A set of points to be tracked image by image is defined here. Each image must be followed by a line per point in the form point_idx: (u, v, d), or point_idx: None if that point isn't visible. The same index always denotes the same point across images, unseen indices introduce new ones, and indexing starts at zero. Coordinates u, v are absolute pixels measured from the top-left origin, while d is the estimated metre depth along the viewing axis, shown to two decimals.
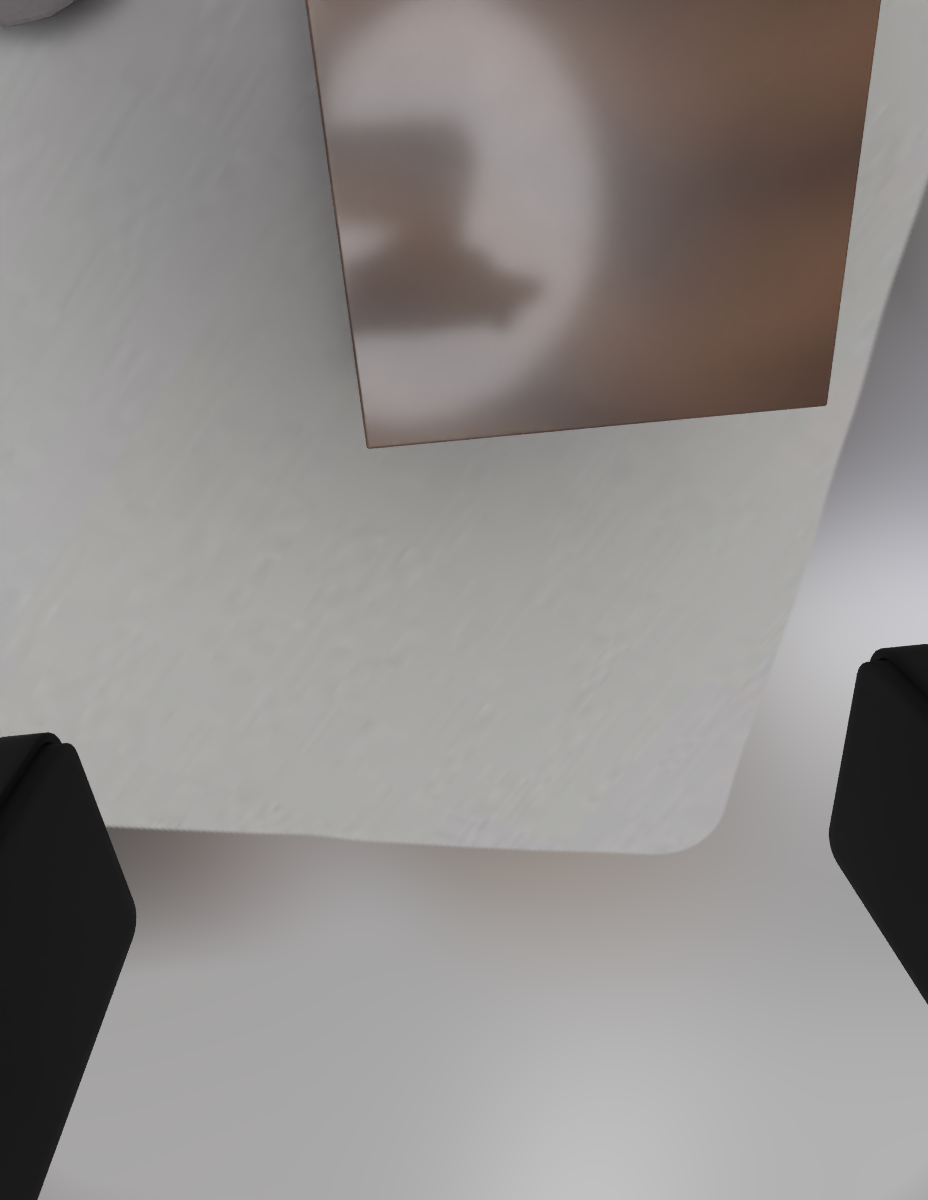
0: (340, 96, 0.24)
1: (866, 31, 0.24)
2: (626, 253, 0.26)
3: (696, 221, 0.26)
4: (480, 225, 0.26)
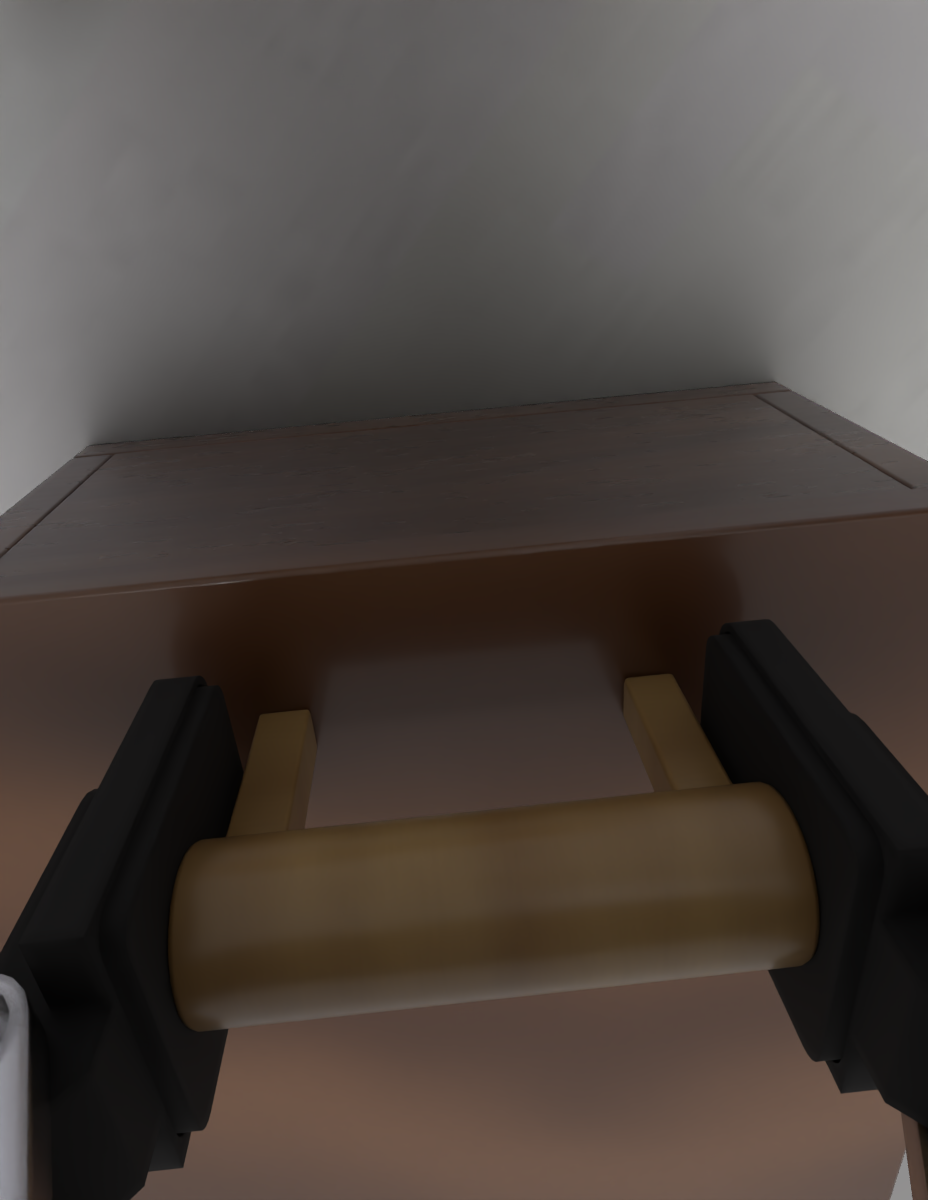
0: None
1: None
2: (552, 1094, 0.15)
3: (672, 1056, 0.15)
4: (291, 1083, 0.15)
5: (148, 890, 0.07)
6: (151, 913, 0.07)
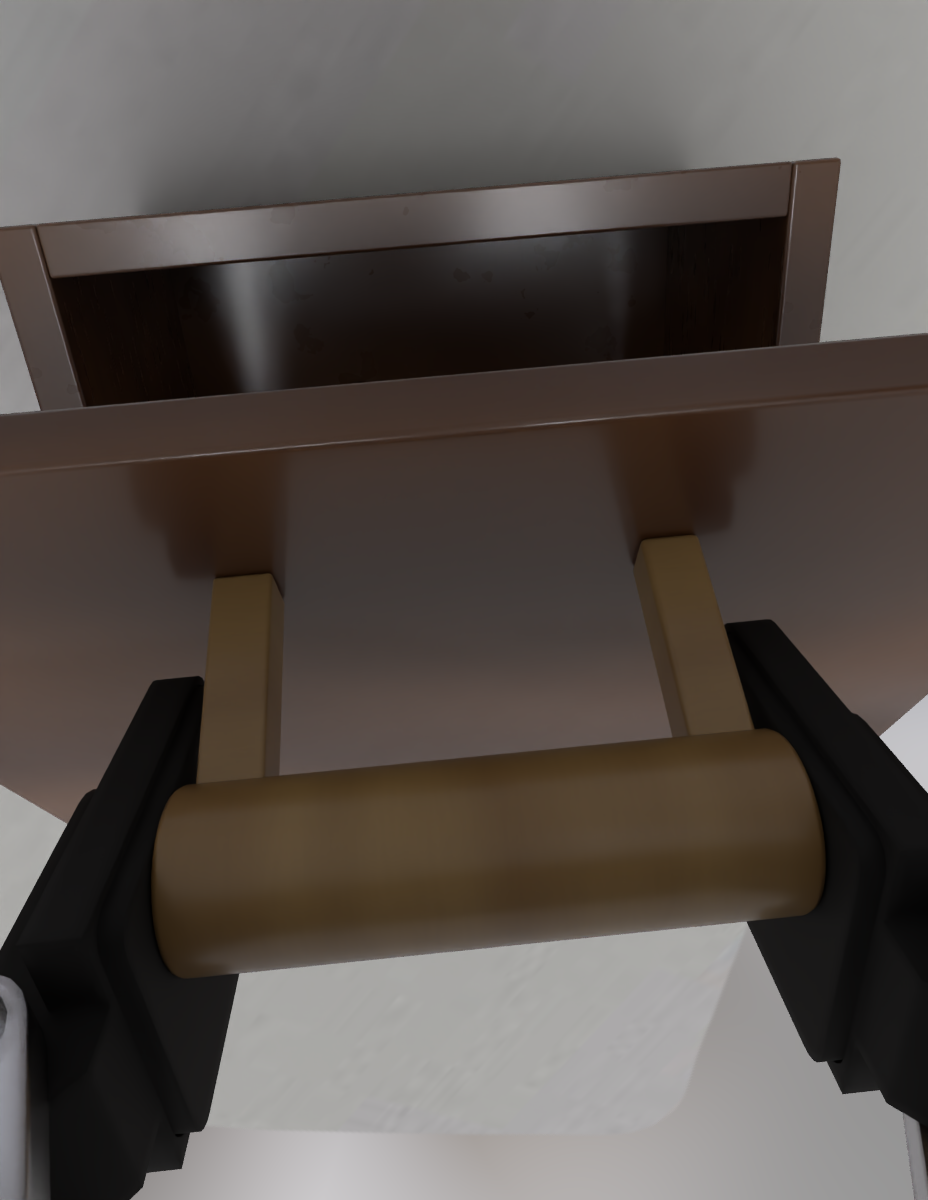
0: None
1: None
2: None
3: None
4: None
5: (146, 891, 0.07)
6: (149, 914, 0.07)
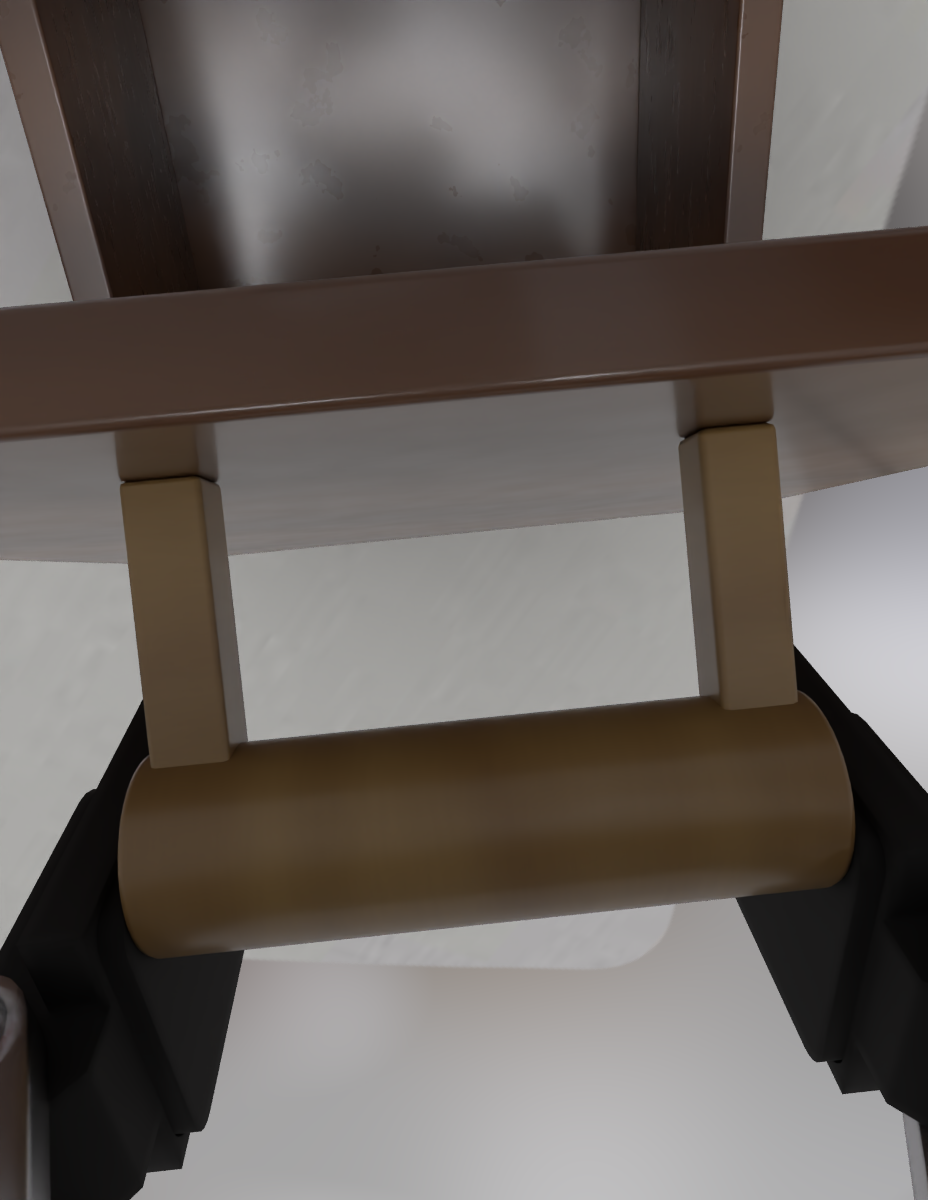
0: None
1: None
2: (492, 517, 0.16)
3: (611, 503, 0.16)
4: (242, 536, 0.15)
5: None
6: None
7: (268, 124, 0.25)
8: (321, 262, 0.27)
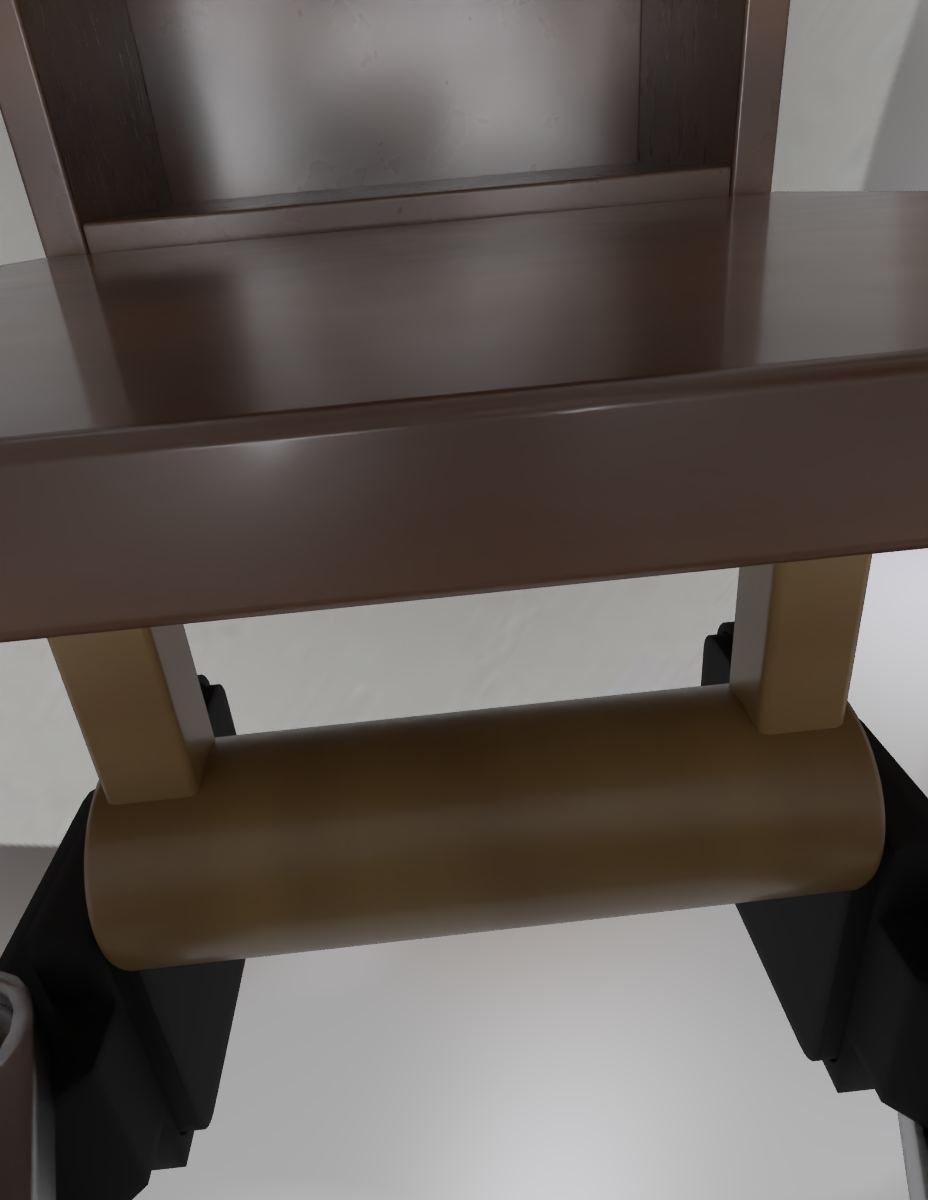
0: None
1: None
2: None
3: None
4: None
5: None
6: None
7: None
8: None
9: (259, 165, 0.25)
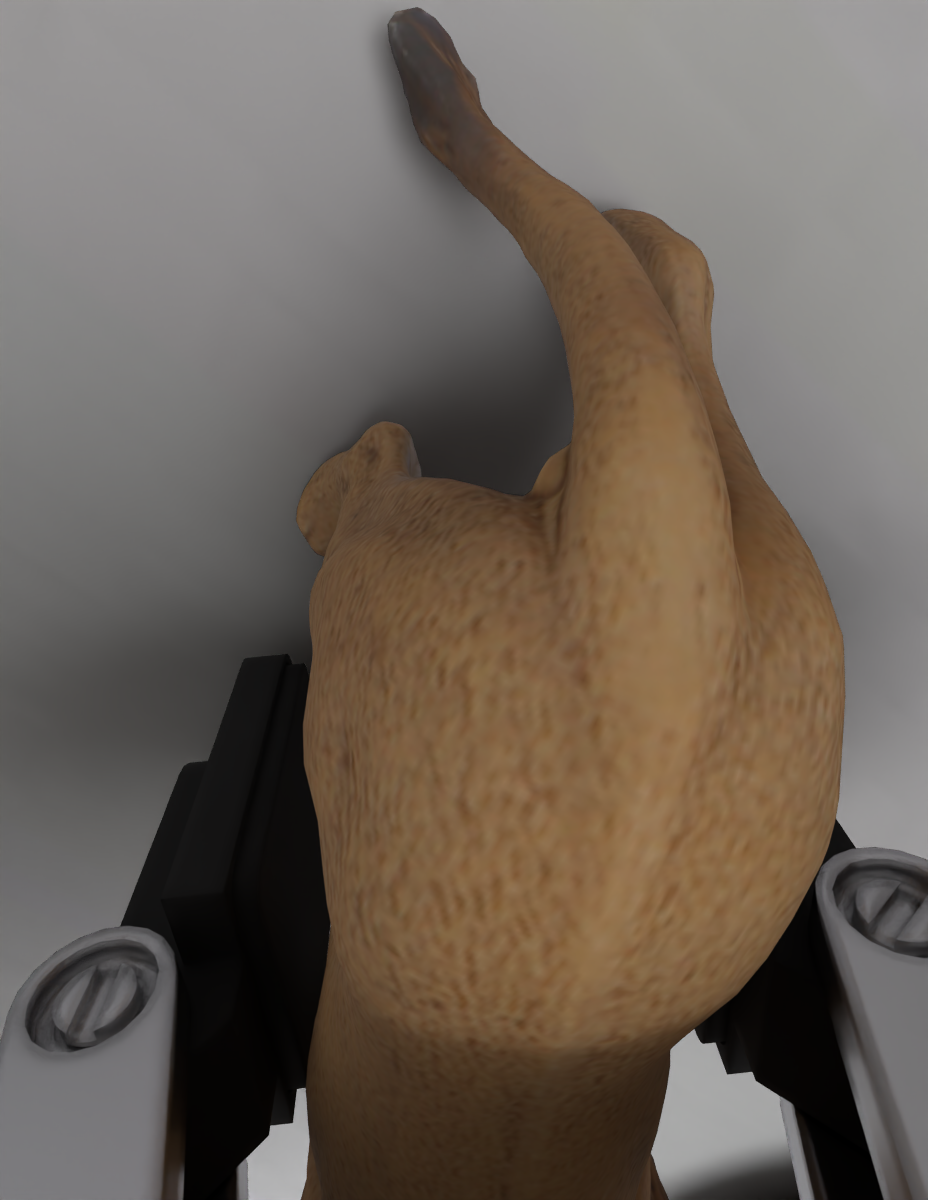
0: None
1: None
2: None
3: None
4: None
5: (269, 852, 0.07)
6: (272, 874, 0.07)
7: None
8: None
9: None
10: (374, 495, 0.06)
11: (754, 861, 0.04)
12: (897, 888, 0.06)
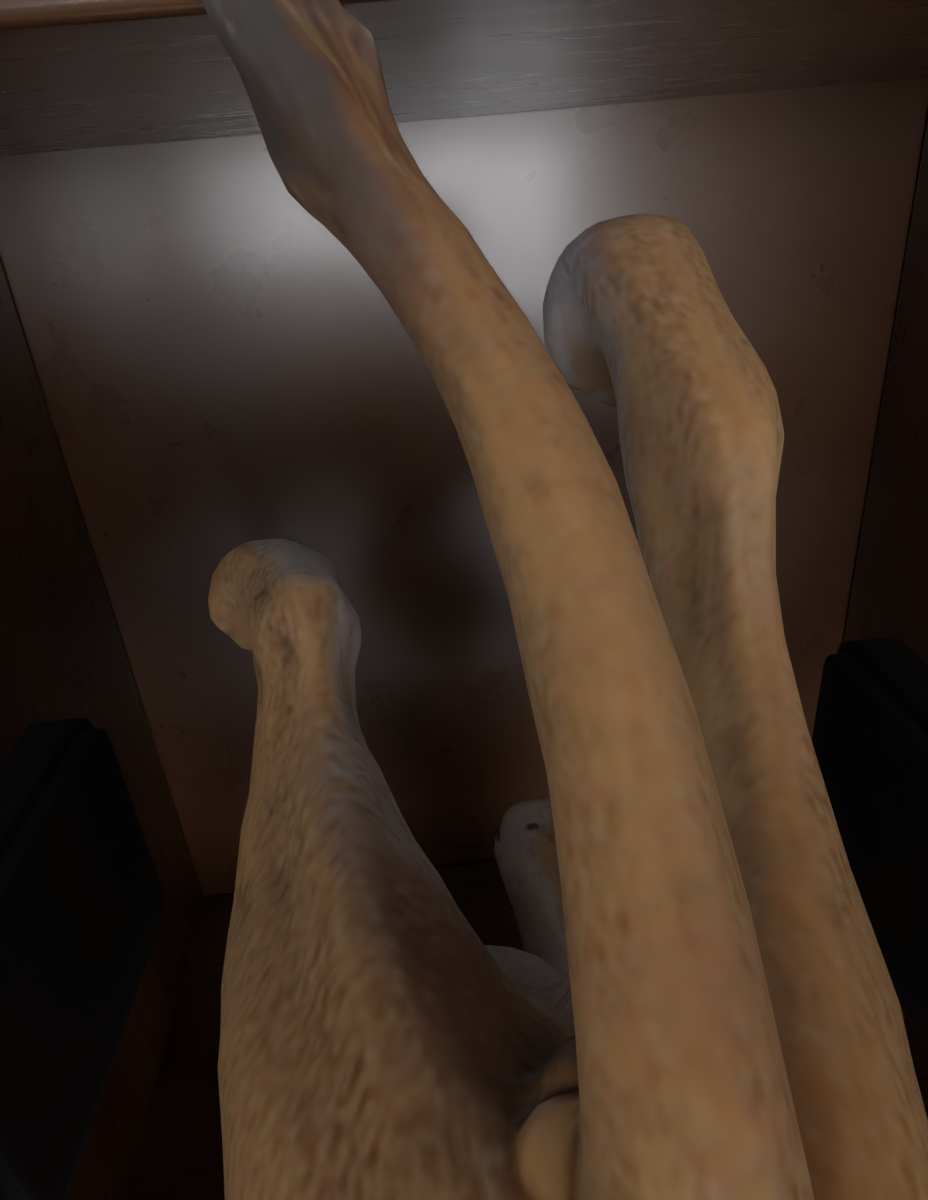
0: None
1: None
2: None
3: None
4: None
5: None
6: None
7: (411, 759, 0.17)
8: None
9: None
10: (292, 786, 0.05)
11: None
12: None
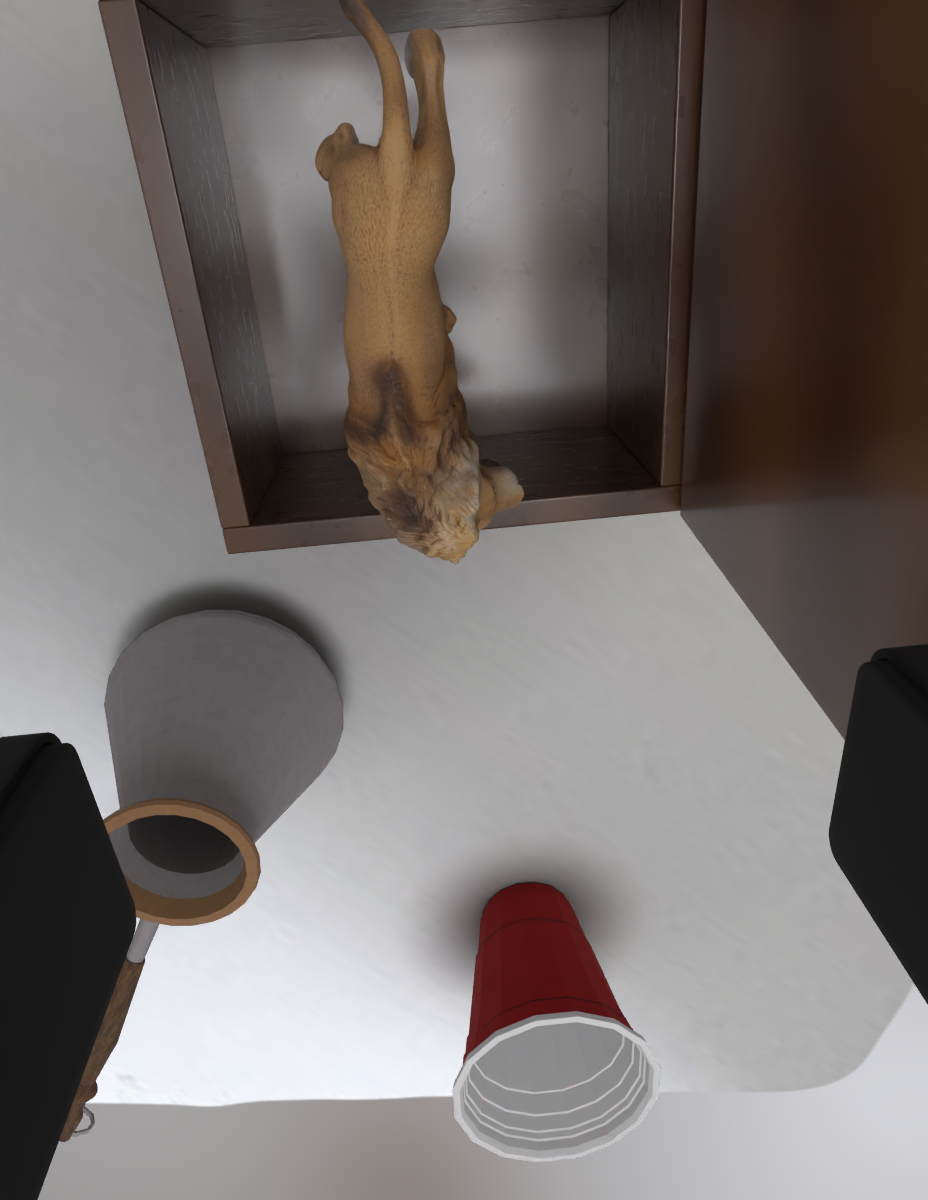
0: None
1: None
2: None
3: None
4: None
5: None
6: None
7: None
8: (485, 336, 0.34)
9: (587, 358, 0.34)
10: (343, 150, 0.21)
11: (420, 220, 0.19)
12: None
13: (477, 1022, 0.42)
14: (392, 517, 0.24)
